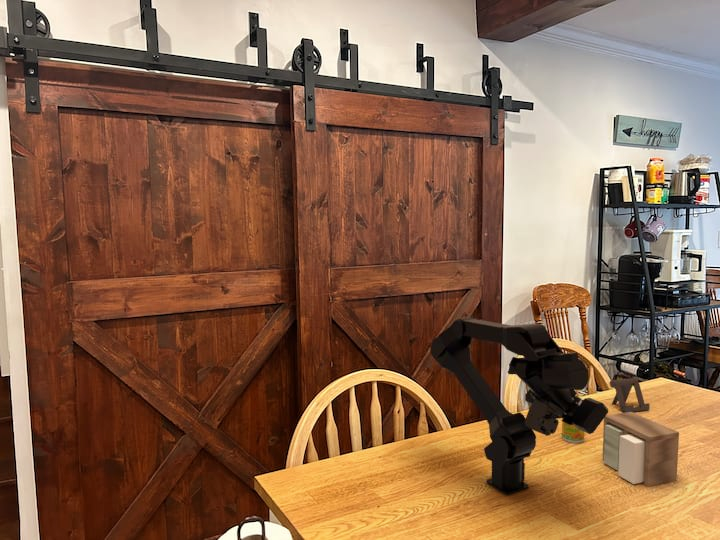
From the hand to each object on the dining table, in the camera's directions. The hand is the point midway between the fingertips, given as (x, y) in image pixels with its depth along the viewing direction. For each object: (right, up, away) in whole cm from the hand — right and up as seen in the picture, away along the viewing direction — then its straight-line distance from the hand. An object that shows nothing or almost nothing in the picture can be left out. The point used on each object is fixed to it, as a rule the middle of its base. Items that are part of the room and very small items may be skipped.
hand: (585, 428), depth 111 cm
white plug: (+16, -12, +6) cm, 21 cm away
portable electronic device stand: (+33, -9, +49) cm, 60 cm away
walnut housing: (+16, -12, +9) cm, 22 cm away
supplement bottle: (+8, -11, +26) cm, 30 cm away
